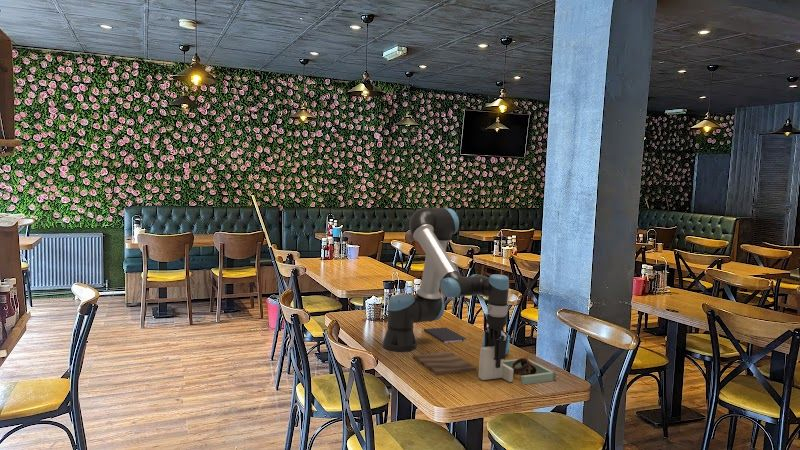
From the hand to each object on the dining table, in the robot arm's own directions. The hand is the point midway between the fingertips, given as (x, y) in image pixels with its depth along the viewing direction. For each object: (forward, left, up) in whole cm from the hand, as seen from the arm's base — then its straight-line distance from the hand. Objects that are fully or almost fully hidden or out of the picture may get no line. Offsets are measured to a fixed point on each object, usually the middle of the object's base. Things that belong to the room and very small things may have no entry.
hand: (493, 373), depth 220 cm
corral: (0, +14, -2) cm, 14 cm away
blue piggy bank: (-26, +19, -2) cm, 32 cm away
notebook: (-58, +10, -3) cm, 59 cm away
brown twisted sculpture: (+1, +14, -2) cm, 15 cm away
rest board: (-21, -11, -2) cm, 23 cm away
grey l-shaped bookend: (0, -1, -2) cm, 2 cm away
